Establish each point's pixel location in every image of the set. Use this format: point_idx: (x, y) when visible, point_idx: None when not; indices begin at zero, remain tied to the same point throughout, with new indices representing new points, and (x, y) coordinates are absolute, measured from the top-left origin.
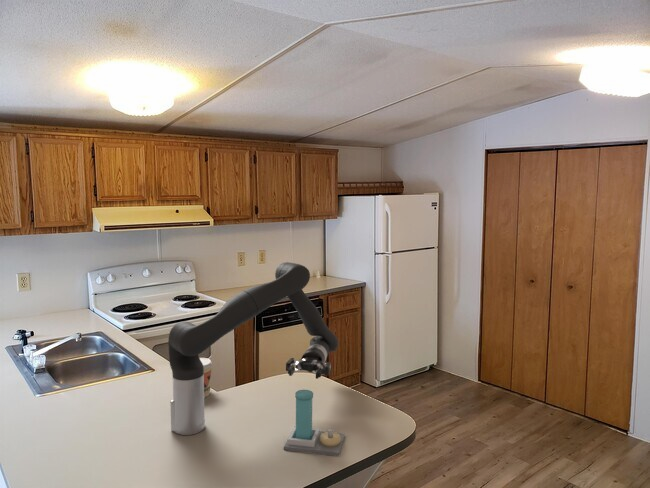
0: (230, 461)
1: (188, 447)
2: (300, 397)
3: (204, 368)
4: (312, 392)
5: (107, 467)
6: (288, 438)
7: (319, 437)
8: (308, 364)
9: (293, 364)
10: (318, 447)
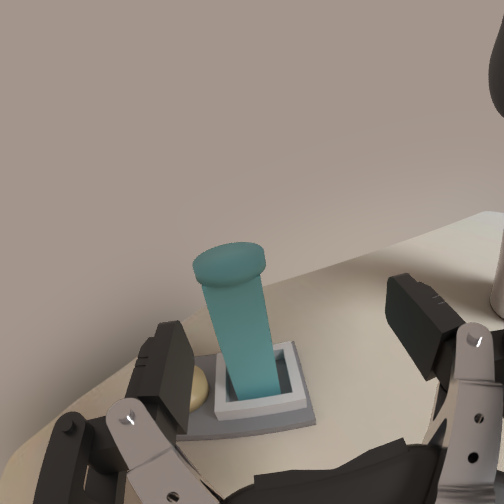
0: (366, 288)
1: (455, 280)
2: (234, 244)
3: None
4: (196, 269)
5: (467, 234)
6: (289, 344)
7: (214, 402)
8: (330, 474)
9: (467, 340)
10: (209, 364)
